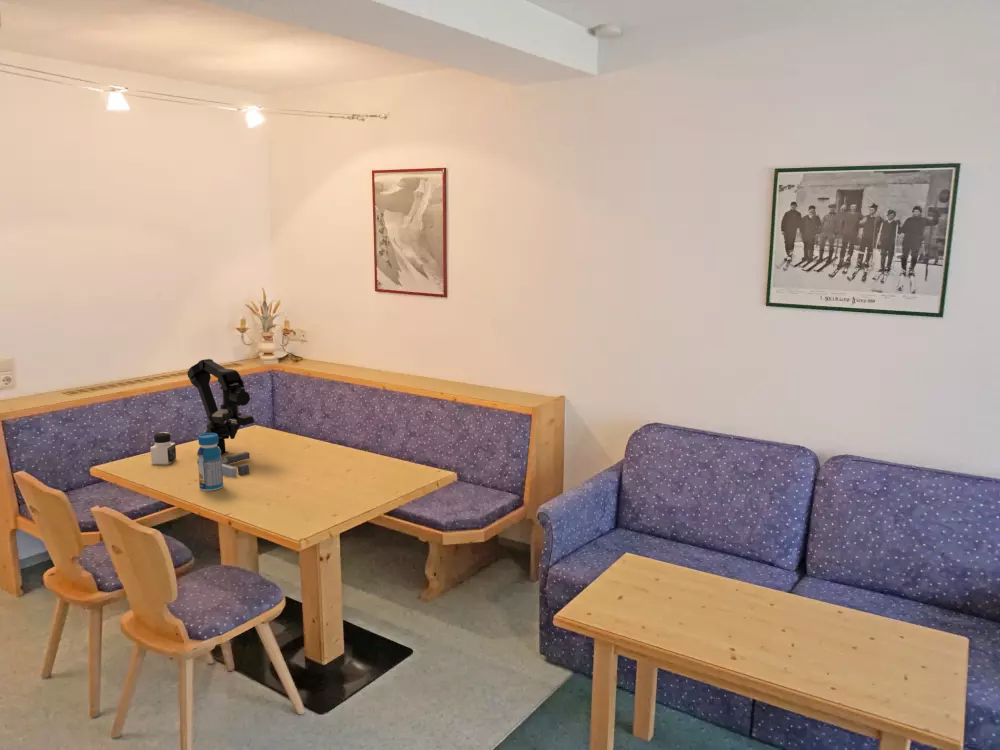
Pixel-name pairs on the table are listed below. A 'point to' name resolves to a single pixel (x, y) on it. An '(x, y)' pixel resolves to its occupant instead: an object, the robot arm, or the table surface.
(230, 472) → the door board
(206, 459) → the beverage bottle
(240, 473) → the grey square block
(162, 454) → the medicine bottle
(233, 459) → the lock bar
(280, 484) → the table surface
